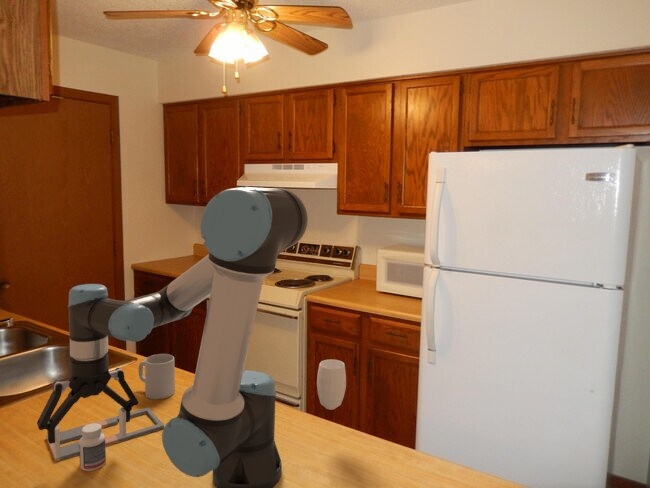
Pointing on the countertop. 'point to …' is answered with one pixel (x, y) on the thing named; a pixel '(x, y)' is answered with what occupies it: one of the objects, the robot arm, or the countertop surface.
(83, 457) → the pill bottle
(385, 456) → the countertop surface
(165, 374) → the mug
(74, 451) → the keyhole board
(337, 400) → the cup
